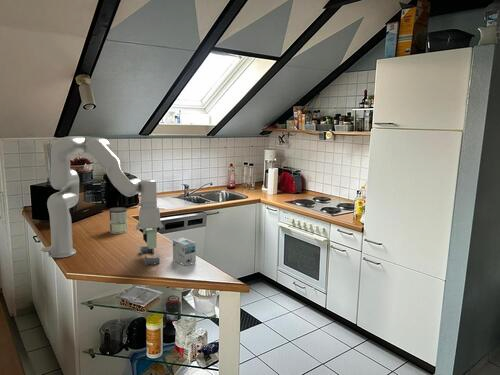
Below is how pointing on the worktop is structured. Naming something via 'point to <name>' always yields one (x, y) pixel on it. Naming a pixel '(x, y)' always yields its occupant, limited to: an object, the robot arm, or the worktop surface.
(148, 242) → the slat
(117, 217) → the coffee can
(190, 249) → the light bulb box
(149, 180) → the robot arm
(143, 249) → the end caps
